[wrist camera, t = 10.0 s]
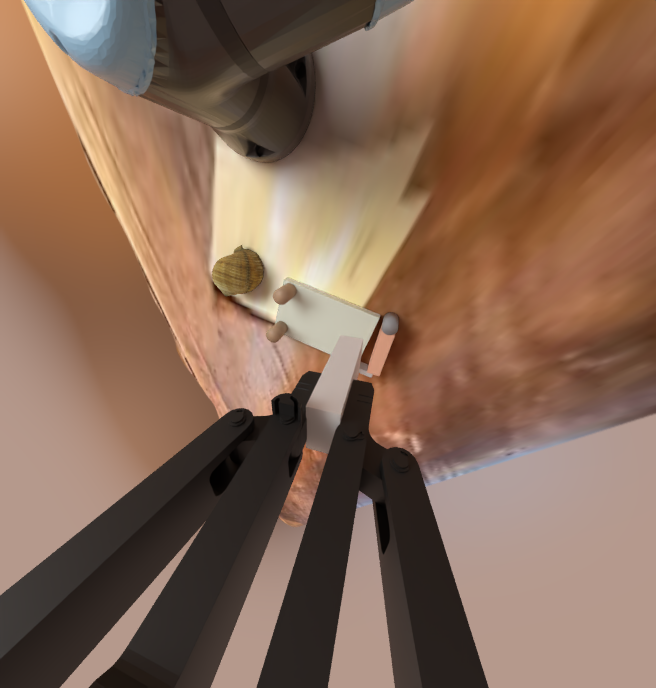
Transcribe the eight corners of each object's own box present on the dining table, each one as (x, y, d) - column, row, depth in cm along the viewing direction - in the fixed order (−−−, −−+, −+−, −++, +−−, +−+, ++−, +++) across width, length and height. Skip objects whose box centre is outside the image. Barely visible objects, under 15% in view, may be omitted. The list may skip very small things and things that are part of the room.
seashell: (257, 247, 46) (214, 233, 40) (273, 258, 41) (226, 244, 36) (246, 293, 49) (205, 287, 44) (259, 308, 45) (215, 302, 40)
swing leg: (385, 310, 41) (384, 318, 38) (400, 314, 40) (400, 323, 37) (368, 362, 47) (366, 372, 44) (381, 366, 46) (379, 377, 43)
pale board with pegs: (276, 330, 49) (263, 342, 44) (287, 277, 43) (273, 285, 38) (372, 370, 48) (369, 388, 43) (398, 322, 41) (398, 336, 36)
